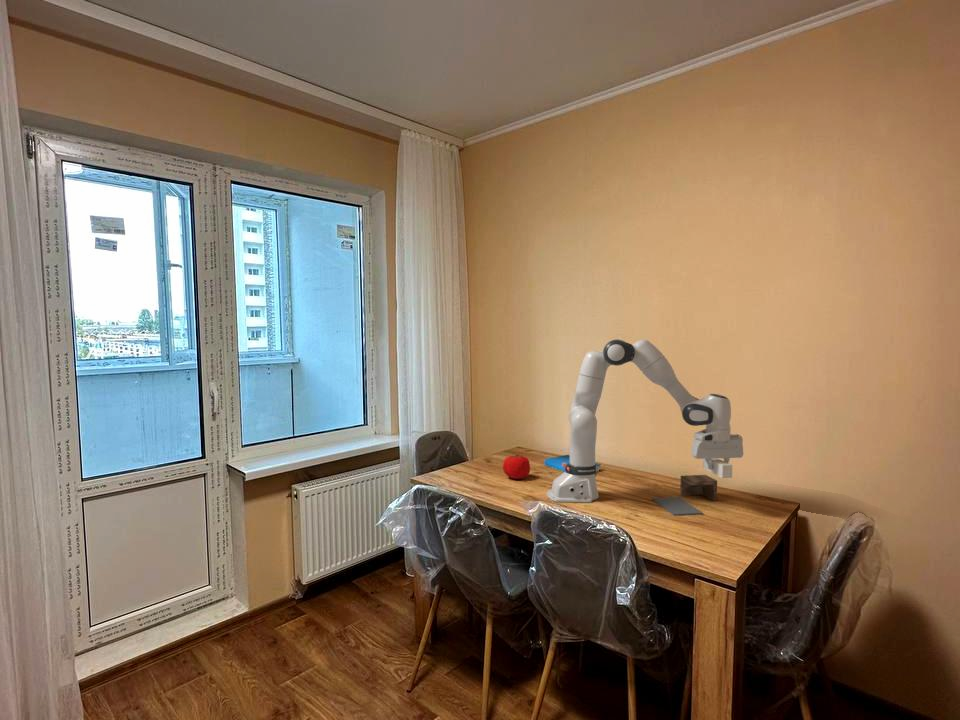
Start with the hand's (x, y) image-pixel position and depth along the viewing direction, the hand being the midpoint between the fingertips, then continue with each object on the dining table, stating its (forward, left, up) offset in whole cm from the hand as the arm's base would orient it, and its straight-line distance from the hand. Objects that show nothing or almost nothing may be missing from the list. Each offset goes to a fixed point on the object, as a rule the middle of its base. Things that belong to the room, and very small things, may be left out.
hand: (717, 468), depth 200 cm
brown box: (0, +13, -16) cm, 21 cm away
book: (-41, +66, -17) cm, 80 cm away
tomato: (-73, +52, -17) cm, 91 cm away
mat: (-15, +4, -16) cm, 22 cm away
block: (0, 0, -2) cm, 2 cm away
